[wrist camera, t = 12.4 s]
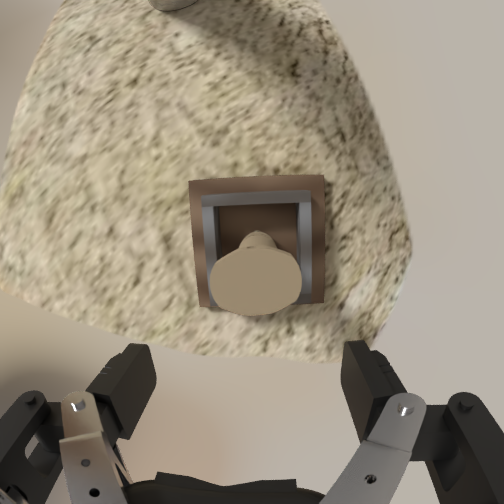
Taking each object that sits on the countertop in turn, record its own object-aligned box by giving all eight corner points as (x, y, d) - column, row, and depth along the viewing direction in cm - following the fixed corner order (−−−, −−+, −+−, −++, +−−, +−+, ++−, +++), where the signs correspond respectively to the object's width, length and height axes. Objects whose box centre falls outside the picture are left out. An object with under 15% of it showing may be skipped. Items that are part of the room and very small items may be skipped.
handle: (229, 226, 34) (204, 254, 20) (283, 220, 34) (299, 244, 19) (234, 265, 35) (215, 318, 21) (287, 260, 35) (303, 310, 20)
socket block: (191, 180, 35) (179, 180, 30) (321, 175, 34) (331, 173, 29) (202, 302, 38) (192, 320, 33) (321, 298, 38) (330, 316, 32)
